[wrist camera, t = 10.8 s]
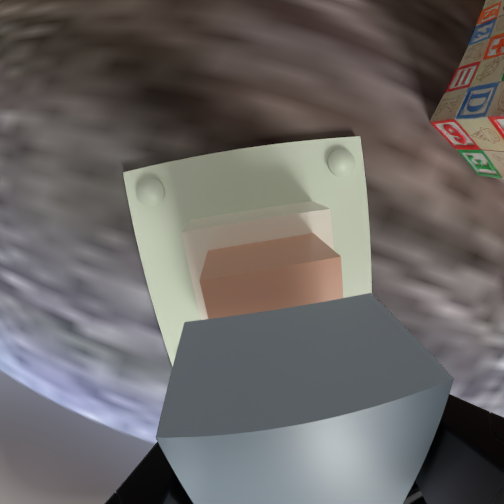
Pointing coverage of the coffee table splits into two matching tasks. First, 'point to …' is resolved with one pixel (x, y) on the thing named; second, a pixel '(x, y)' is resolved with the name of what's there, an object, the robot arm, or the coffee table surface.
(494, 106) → the stack of blocks
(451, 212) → the coffee table surface
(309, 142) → the baseplate
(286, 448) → the brick blue
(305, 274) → the brick terracotta
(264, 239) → the brick cream
